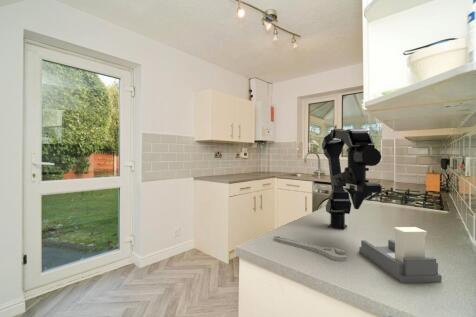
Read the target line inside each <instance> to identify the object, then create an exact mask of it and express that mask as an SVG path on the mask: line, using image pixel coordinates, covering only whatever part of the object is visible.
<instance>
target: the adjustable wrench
mask: <svg viewBox="0 0 476 317" xmlns="http://www.w3.org/2000/svg"><path fill="white" fill-rule="evenodd" d="M273 240H275V242H277V241H278V242H277V243H281V242H282V244H285V245H288V244H289V245H288V246H292V247H296V248H299V247H300V248H301V249H303V250H308V251H312V252H314V253H319V254H321V255H322V256H325V257H327V258H328V259H330V260H333V261H337V262H346V261H347V255H346V251H345V250H343V249H342V248H337V247H332V246H331V247H323V246H319V245H315V244H311V243H306V242H303V241H299V240H296V239H291V238H287V237H284V236H279V235H275V236H273Z"/></svg>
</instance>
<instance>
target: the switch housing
mask: <svg viewBox="0 0 476 317" xmlns="http://www.w3.org/2000/svg"><path fill="white" fill-rule="evenodd" d="M360 245H361V246H359V249H358V251H359V253H361V254H362V255H364V256H365V257H366V258H368V260H370V261H372V262H373V263H374V264H376V265H377V266H379V267H380V268H381V269H382V270H384V271H386V272H387V273H388V274H389V275H391V276H392V277H394V278H395V279H396V280H398V282H401V283H402V284H403V283H404V284H405V283H408V284H409V283H435V282H436V283H441V282H442V281H443V280H442V277H443V276H442V274H440V273H439V264H438V263H437V258H435V257H433V256H430V257H429V256H428V257H426V256H425V257H422V258H403V264H402V263H401V262H399V261H398V260H396V259H395V240H393V239H388V243H387V246H385V245H384V246H375V245H373V244H372V243H370V242H368V241H367V240H365V239H362V240H361V244H360Z"/></svg>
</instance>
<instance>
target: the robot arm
mask: <svg viewBox="0 0 476 317" xmlns="http://www.w3.org/2000/svg"><path fill="white" fill-rule="evenodd" d="M375 144H376V143H375V142H374V139H373V138H372V136H371V133H370V132H369V130H368V128H349V129H348V128H347V129H345V128H344V129H343V128H333V129H331V130H330V132H329V133H328V134H326V135H325V136H324V138H323V140H322V143H321V149H322V151H323V155H324V156H325V157H326V158H327V161H328V169H329V177H330V178H329V179H330V187H331V191H330V193H329V195H328V199H327V202H326V205H325V212H326V213H328V214H329V215H330V216H329V220H330V223H329V224H328V225H327V227H328V228H330V229H336V230H337V229H338V230H342V231H343V230H346V228H347V227H348V224H345V223H346V222H345V221H346V217H345V216H346V215H350V213H351V209H352V205H353V209H354V210H359V209H360V207H361V206H362V204H363V202H364V201H365V199H366V197H367V196H368V194H369V193H378V194H379V193H383V186H382V185H381V184H380V183H379V182H372V181H371V182H369V181H370V180H369V179H367V172H369V171H370V170H369V167H374V166H377V165H378V164H379V163H380V162H381V161H382V160H381V159H382V154H381V152H380V150H378V149H377V148H376V145H375ZM345 145H346V146H347V148H346V151H345V152H346V153H347V167H344V171H343V172H342V169H341V168H342V167H341V160H340V156H341V154H342V152H343V148H344V146H345ZM344 186H345V187H344Z"/></svg>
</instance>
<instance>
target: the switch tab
mask: <svg viewBox="0 0 476 317" xmlns="http://www.w3.org/2000/svg"><path fill="white" fill-rule="evenodd" d="M393 232H394V241H395V259H396V260H398V261H399V262H401V263H402V264H403V258H422V257H426V236H428V231H427V230H424V229H422V228H419V227H416V226H401V227H400V226H399V227H397V226H395V227H393Z"/></svg>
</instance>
